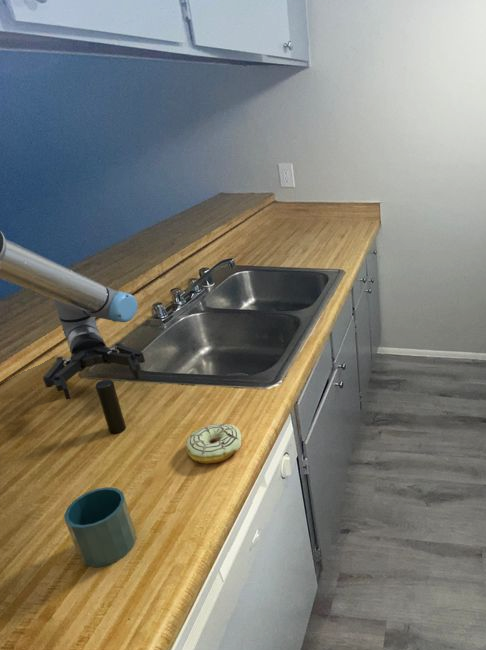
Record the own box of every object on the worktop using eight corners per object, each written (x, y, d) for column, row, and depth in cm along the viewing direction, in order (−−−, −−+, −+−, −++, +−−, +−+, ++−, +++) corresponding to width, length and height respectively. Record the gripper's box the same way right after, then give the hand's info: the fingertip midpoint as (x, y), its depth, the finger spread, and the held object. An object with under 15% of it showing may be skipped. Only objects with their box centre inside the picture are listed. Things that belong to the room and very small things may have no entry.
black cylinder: (108, 428, 104) (94, 382, 99) (124, 423, 106) (111, 377, 100) (110, 435, 102) (96, 389, 96) (127, 430, 104) (114, 384, 98)
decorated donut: (251, 452, 99) (249, 438, 97) (199, 475, 93) (196, 460, 91) (230, 427, 106) (228, 413, 104) (181, 447, 99) (178, 433, 98)
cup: (77, 541, 78) (61, 502, 74) (130, 518, 83) (118, 480, 79) (84, 576, 73) (68, 536, 69) (141, 549, 77) (129, 510, 73)
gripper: (144, 345, 129) (165, 380, 114) (31, 373, 115) (40, 417, 100) (138, 321, 125) (159, 353, 111) (21, 346, 111) (28, 388, 97)
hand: (102, 384), depth 105 cm, fingers open, 13 cm apart
